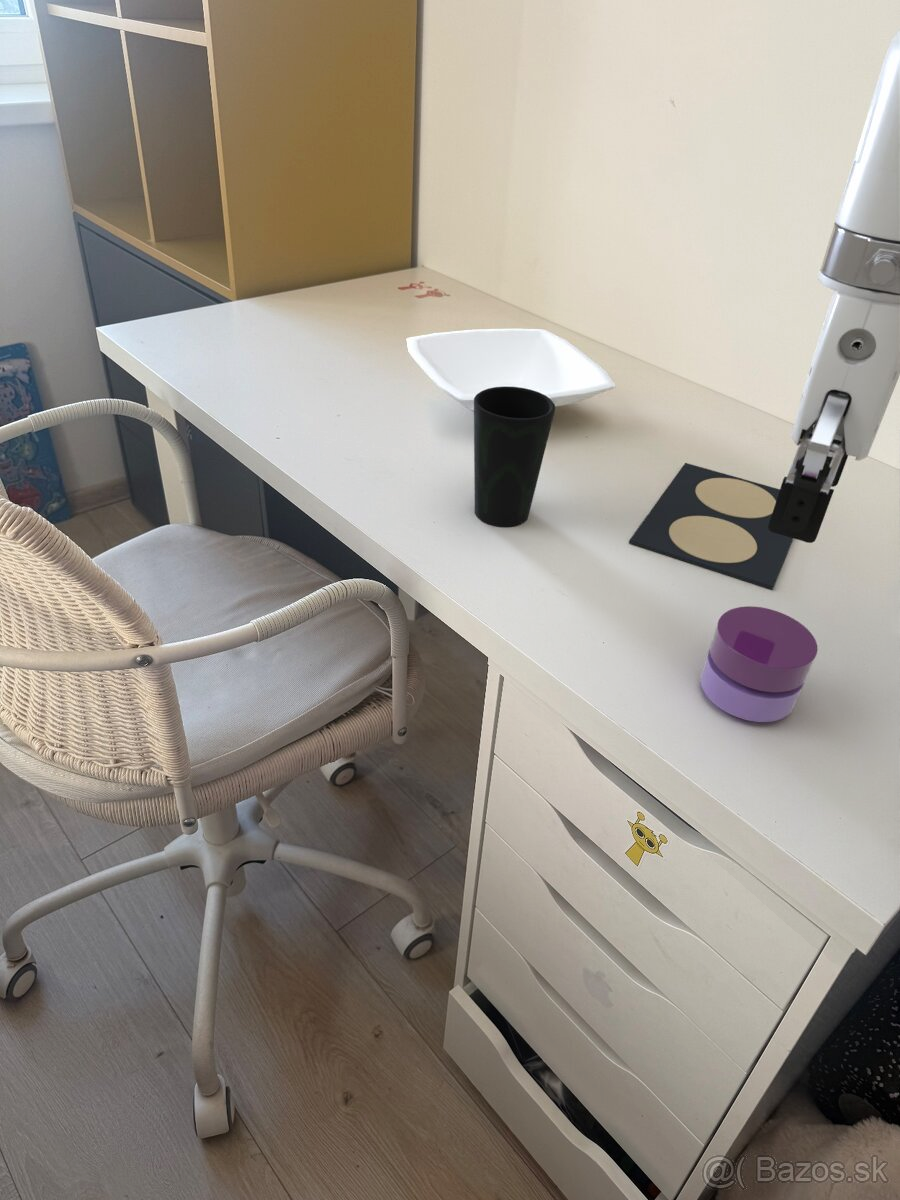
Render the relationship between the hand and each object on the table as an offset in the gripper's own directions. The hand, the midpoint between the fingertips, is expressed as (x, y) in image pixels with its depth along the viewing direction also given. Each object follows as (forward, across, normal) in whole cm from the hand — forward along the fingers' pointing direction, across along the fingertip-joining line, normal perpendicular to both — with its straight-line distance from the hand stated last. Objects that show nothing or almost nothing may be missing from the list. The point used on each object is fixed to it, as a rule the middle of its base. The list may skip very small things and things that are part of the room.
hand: (803, 506), depth 61 cm
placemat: (+14, +20, +8) cm, 26 cm away
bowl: (+13, +33, +40) cm, 53 cm away
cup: (+14, +8, +28) cm, 32 cm away
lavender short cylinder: (+14, -6, -1) cm, 15 cm away
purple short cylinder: (+11, -6, -1) cm, 12 cm away
